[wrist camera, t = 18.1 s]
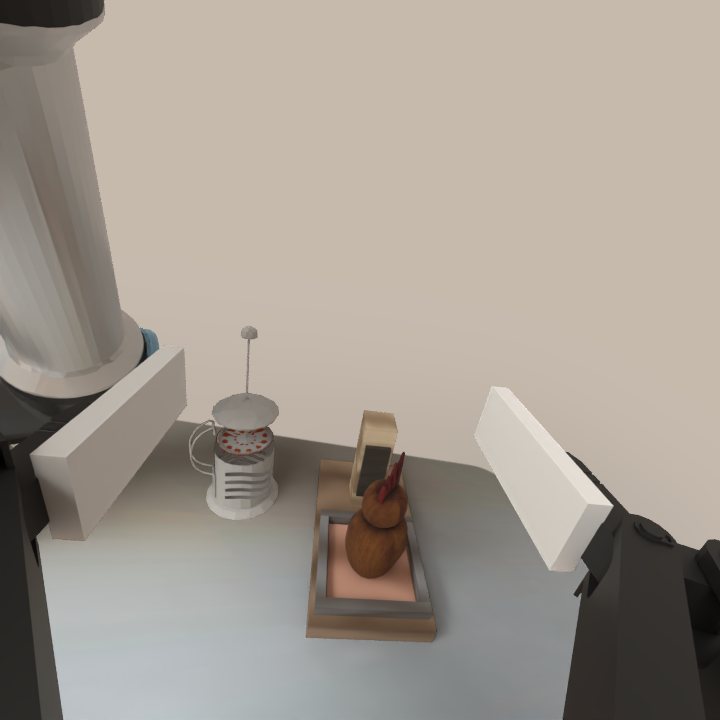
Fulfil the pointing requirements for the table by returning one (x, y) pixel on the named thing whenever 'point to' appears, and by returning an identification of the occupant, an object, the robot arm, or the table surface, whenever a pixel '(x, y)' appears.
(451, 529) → the table surface
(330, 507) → the wooden tray stand
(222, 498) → the french press
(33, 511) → the robot arm
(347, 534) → the wooden figurine
